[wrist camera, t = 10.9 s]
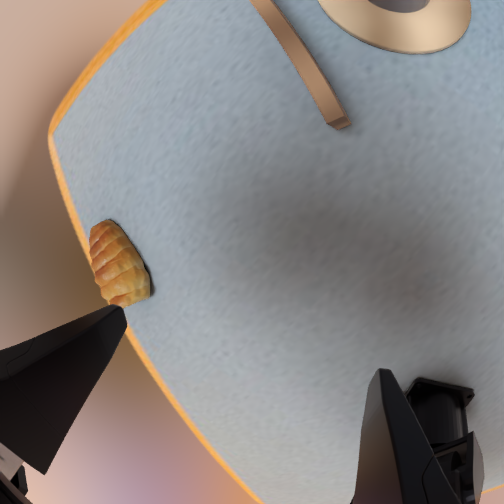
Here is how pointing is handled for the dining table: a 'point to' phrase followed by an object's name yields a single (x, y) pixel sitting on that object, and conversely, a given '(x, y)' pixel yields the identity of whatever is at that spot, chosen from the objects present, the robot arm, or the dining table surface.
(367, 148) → the dining table surface
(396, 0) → the soy bottle
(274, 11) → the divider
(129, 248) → the pastry
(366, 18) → the disc
